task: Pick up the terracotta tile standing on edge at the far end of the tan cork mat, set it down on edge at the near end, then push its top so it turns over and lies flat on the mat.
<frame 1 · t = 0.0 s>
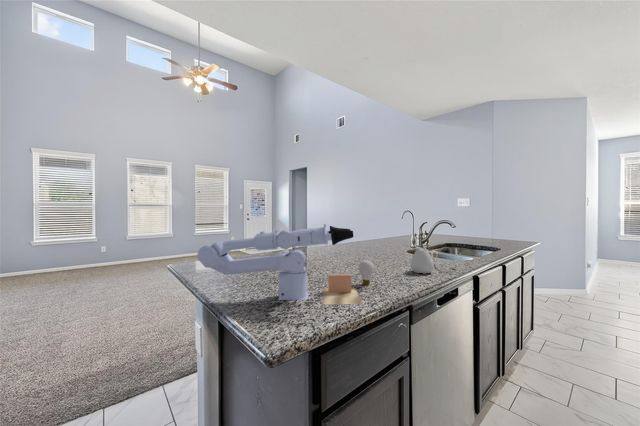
hand: (351, 232, 91), 22 cm above the counter, tool horizontal, fingers open, 7 cm apart
tile: (339, 291, 95), point 1 cm above the counter, touching mat
mat: (340, 296, 91), on the counter
light bulb: (366, 286, 104), on the counter
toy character: (422, 272, 126), on the counter
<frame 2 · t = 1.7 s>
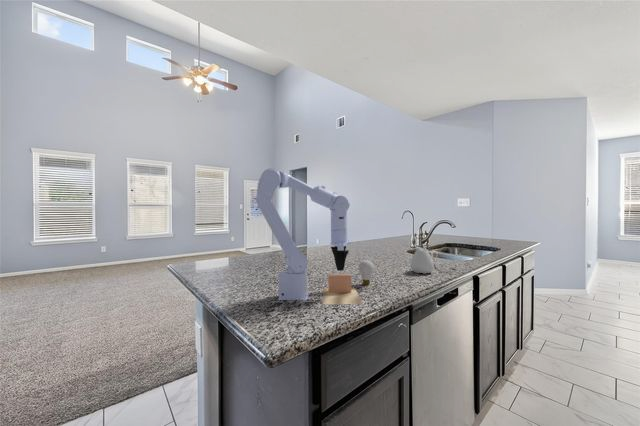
hand: (339, 268, 95), 9 cm above the counter, tool pointing down, fingers open, 7 cm apart
nothing on the counter moved.
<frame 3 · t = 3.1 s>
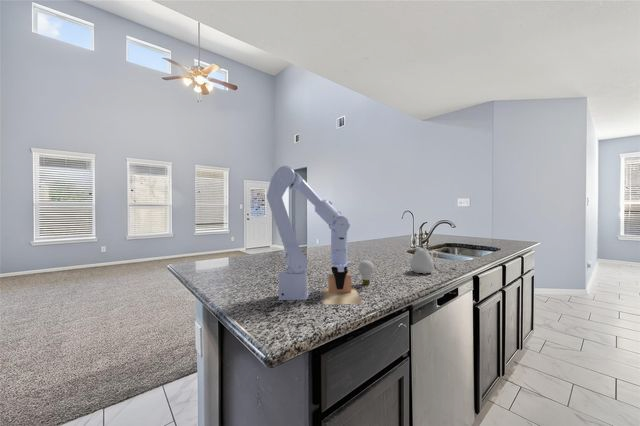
hand: (339, 287, 95), 2 cm above the counter, tool pointing down, fingers closed on tile, 2 cm apart
tile: (339, 291, 95), point 1 cm above the counter, touching gripper, mat
everything else where it was.
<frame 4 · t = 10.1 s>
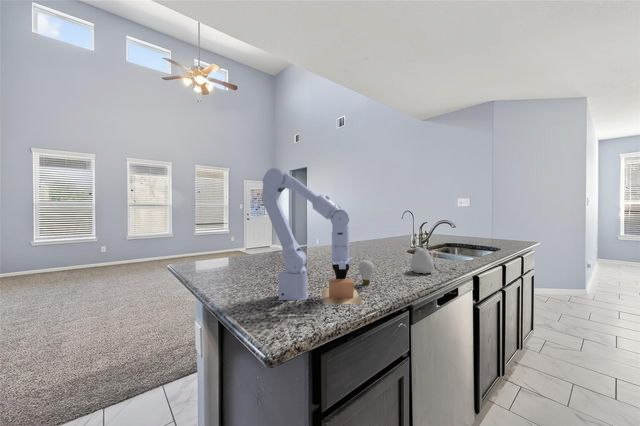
hand: (340, 286, 90), 4 cm above the counter, tool pointing down, fingers closed
tile: (340, 296, 89), point 1 cm above the counter, tilted 21°, touching mat
everything else where it was.
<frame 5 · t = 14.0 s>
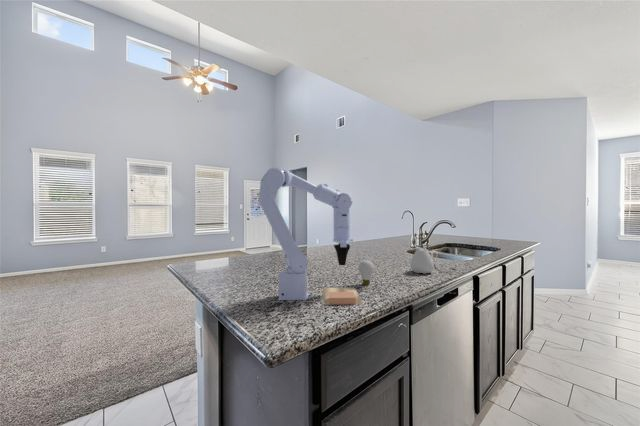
hand: (342, 264, 96), 10 cm above the counter, tool pointing down, fingers closed
tile: (341, 294, 88), point 2 cm above the counter, tilted 90°, touching mat
everything else where it was.
at the end: tile tilted 90°; tile inside the target area (2.0 cm from its centre), point 1.6 cm above the counter; the gripper is holding nothing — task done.
